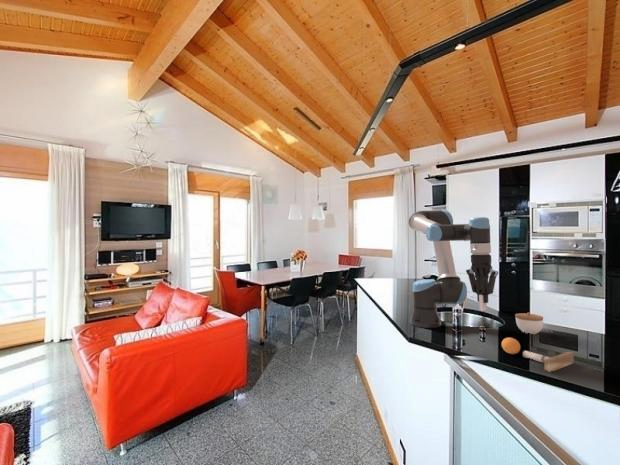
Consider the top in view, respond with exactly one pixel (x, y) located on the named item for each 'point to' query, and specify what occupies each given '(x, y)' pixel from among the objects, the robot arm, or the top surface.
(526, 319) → the lidded jar
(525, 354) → the pin
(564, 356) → the wall
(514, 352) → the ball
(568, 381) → the top surface
